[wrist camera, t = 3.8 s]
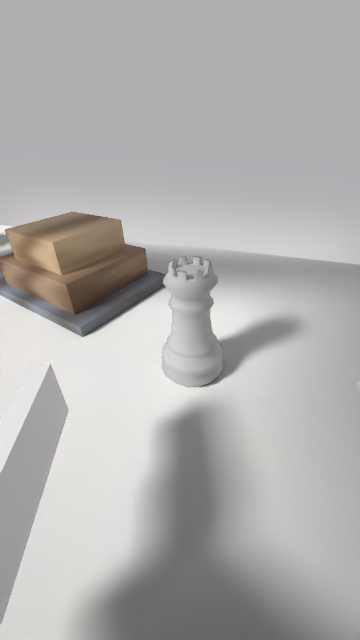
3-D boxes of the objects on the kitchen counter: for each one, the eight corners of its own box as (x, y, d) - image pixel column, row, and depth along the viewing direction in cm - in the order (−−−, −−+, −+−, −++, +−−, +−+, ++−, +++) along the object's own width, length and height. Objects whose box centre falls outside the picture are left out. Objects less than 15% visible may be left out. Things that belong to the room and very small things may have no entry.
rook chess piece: (184, 341, 23) (180, 246, 19) (234, 361, 21) (242, 258, 17) (149, 374, 20) (134, 270, 16) (203, 401, 18) (203, 288, 14)
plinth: (-7, 291, 33) (-35, 229, 29) (79, 257, 41) (66, 205, 37) (82, 336, 25) (60, 259, 21) (168, 283, 33) (163, 219, 29)
